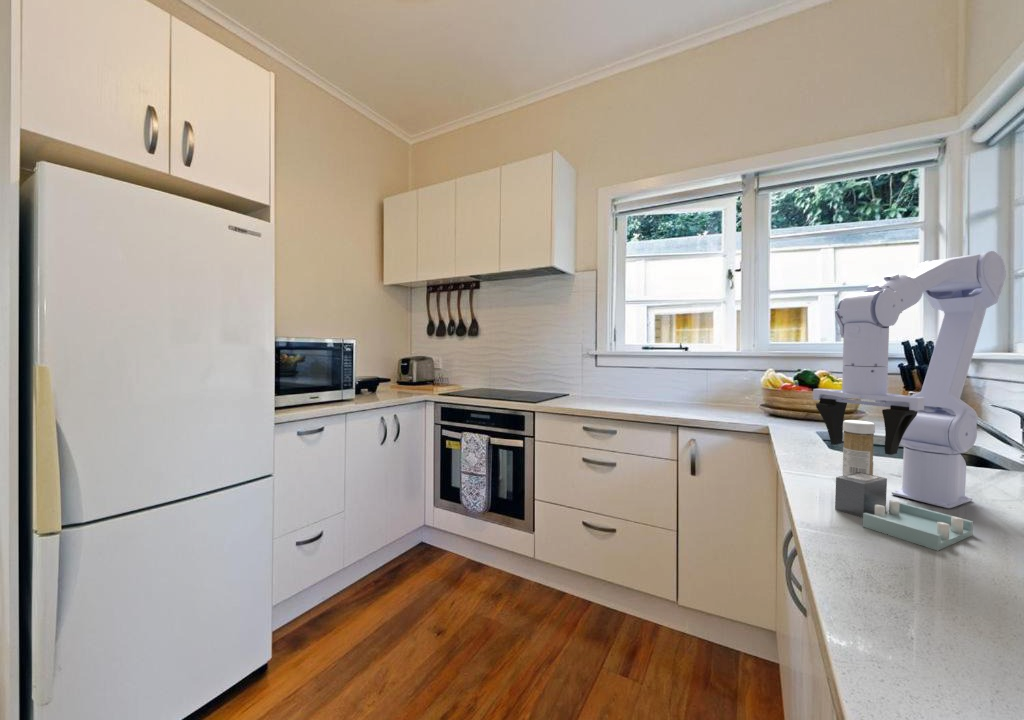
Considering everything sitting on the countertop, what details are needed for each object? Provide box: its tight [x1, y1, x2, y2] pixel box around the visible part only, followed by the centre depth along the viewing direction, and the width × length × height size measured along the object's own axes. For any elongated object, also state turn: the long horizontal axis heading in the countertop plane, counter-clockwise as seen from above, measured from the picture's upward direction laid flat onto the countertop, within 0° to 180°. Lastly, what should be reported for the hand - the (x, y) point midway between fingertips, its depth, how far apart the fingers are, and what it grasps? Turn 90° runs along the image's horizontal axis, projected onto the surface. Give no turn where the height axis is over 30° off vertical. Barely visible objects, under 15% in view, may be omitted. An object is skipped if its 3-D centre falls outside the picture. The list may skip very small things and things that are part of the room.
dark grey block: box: [834, 472, 888, 519], centre depth 71 cm, size 7×4×6 cm, turn 116°
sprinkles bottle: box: [842, 419, 876, 476], centre depth 79 cm, size 5×5×13 cm
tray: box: [862, 499, 974, 552], centre depth 63 cm, size 11×8×3 cm
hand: (862, 448), depth 71 cm, fingers open, 7 cm apart
